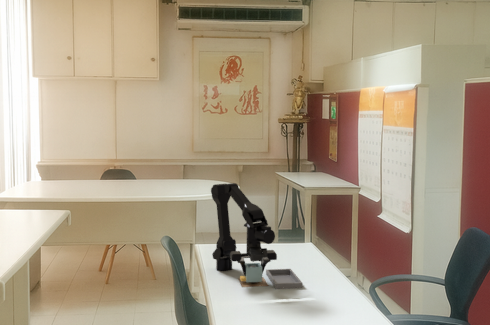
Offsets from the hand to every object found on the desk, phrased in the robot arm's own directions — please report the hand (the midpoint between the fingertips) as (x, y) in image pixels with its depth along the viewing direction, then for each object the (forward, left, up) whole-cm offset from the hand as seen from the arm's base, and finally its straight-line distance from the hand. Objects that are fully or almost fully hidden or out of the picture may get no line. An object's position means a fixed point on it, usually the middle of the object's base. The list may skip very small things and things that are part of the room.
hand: (253, 275), depth 205 cm
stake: (0, 0, -4) cm, 4 cm away
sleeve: (0, 0, -2) cm, 2 cm away
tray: (+13, 0, -4) cm, 13 cm away
